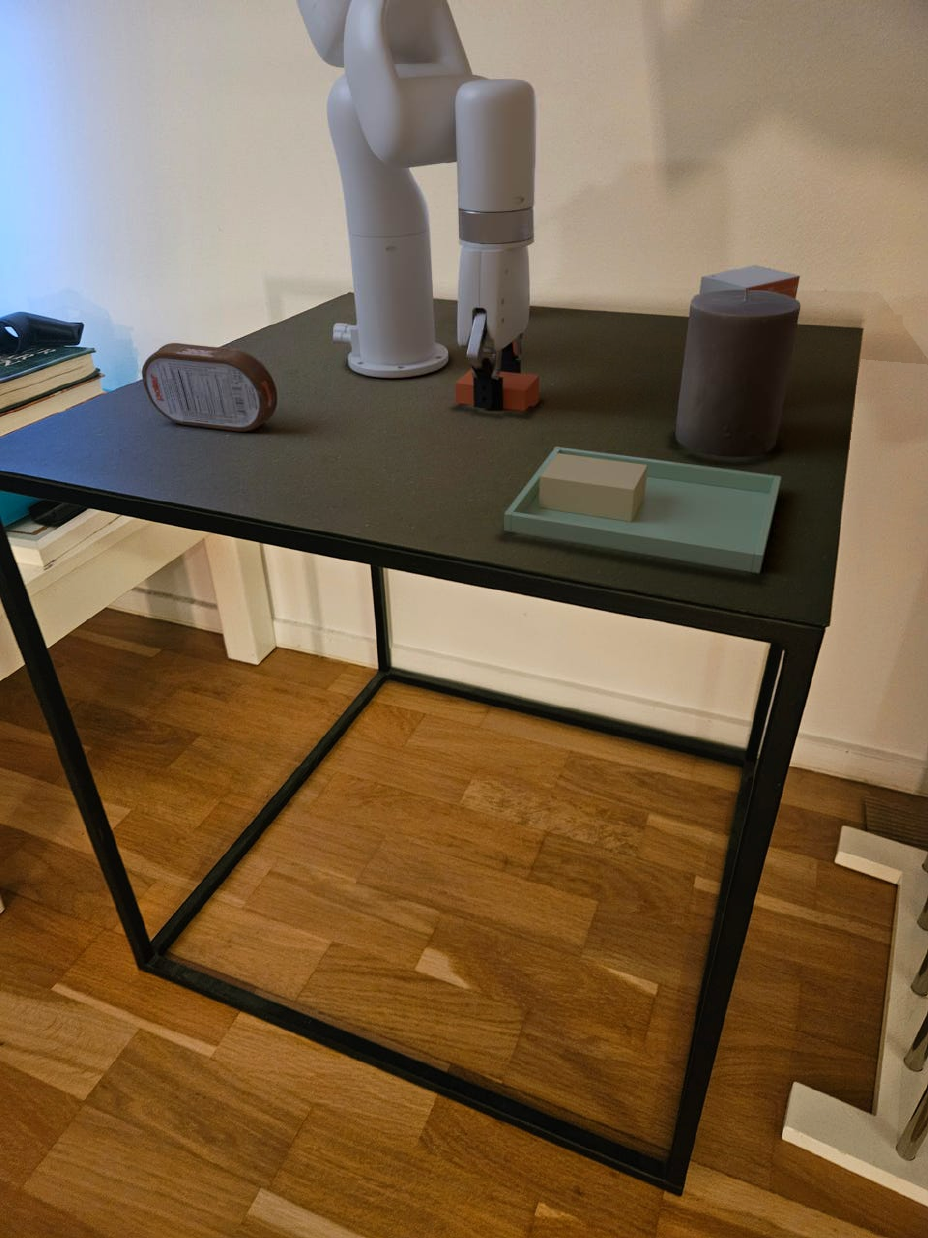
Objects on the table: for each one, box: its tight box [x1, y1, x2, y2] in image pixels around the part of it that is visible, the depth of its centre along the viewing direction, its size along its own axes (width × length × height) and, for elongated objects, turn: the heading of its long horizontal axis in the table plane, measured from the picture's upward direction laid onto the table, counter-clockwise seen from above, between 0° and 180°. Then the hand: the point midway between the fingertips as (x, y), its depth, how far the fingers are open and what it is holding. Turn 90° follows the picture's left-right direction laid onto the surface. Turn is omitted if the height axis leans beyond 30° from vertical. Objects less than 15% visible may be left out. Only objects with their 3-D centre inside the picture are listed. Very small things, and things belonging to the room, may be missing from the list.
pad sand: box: [539, 453, 648, 522], centre depth 73 cm, size 8×5×3 cm, turn 68°
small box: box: [698, 264, 801, 300], centre depth 92 cm, size 8×6×13 cm
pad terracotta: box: [454, 368, 540, 412], centre depth 95 cm, size 8×5×3 cm, turn 68°
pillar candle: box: [675, 287, 801, 458], centre depth 81 cm, size 10×10×15 cm
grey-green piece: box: [503, 446, 782, 574], centre depth 72 cm, size 20×14×2 cm
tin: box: [141, 342, 278, 433], centre depth 91 cm, size 15×3×8 cm, turn 71°
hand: (497, 401), depth 96 cm, fingers closed on pad terracotta, 5 cm apart
